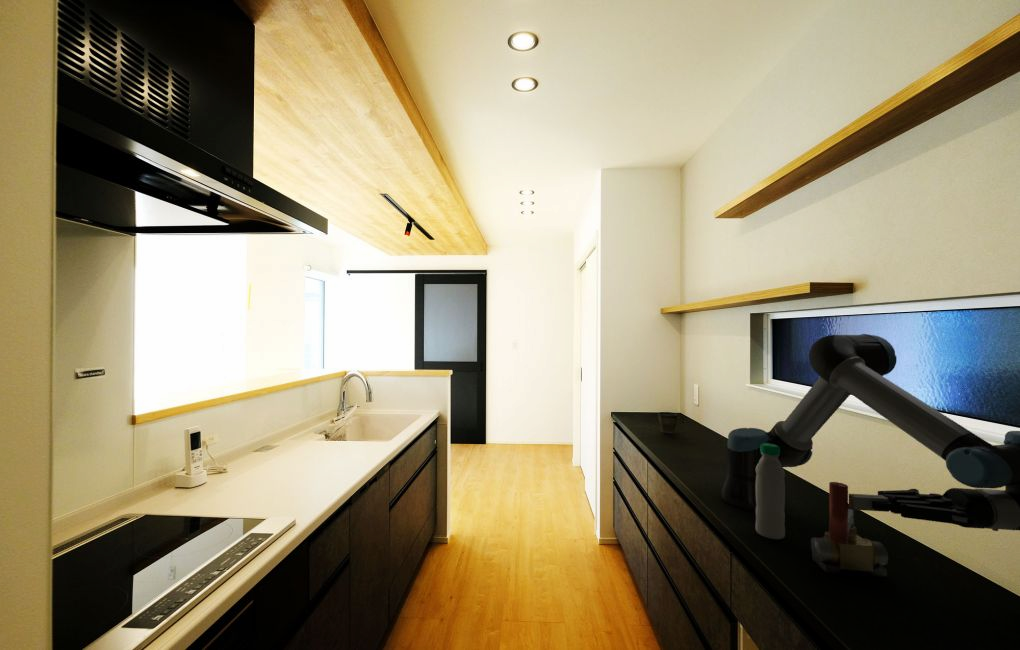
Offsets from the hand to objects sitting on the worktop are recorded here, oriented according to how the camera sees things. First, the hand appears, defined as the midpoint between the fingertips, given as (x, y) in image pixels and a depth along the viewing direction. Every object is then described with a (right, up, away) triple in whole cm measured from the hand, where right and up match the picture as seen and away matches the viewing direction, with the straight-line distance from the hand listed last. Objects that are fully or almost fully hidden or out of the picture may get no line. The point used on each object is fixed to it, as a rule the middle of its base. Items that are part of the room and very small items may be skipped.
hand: (851, 501), depth 90 cm
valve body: (+9, -21, +12) cm, 26 cm away
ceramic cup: (+15, -22, +142) cm, 144 cm away
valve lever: (+4, -11, +7) cm, 13 cm away
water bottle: (0, -21, +29) cm, 36 cm away
